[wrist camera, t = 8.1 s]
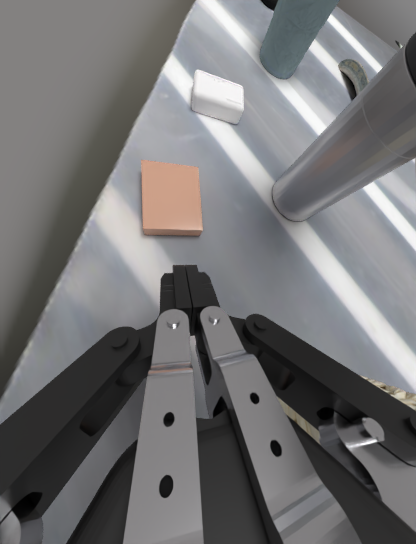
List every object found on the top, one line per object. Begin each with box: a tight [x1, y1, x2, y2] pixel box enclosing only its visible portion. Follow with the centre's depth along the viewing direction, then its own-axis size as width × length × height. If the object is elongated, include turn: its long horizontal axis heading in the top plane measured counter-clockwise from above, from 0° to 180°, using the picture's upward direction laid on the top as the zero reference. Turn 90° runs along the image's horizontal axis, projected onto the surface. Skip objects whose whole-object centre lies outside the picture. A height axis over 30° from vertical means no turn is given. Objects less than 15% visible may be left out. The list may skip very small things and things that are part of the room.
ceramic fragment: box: [338, 59, 369, 95], centre depth 40 cm, size 14×5×4 cm, turn 14°
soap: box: [192, 70, 244, 124], centre depth 28 cm, size 9×6×3 cm, turn 87°
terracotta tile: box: [141, 160, 203, 236], centre depth 24 cm, size 2×8×10 cm
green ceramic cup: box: [260, 0, 339, 79], centre depth 30 cm, size 10×10×12 cm
